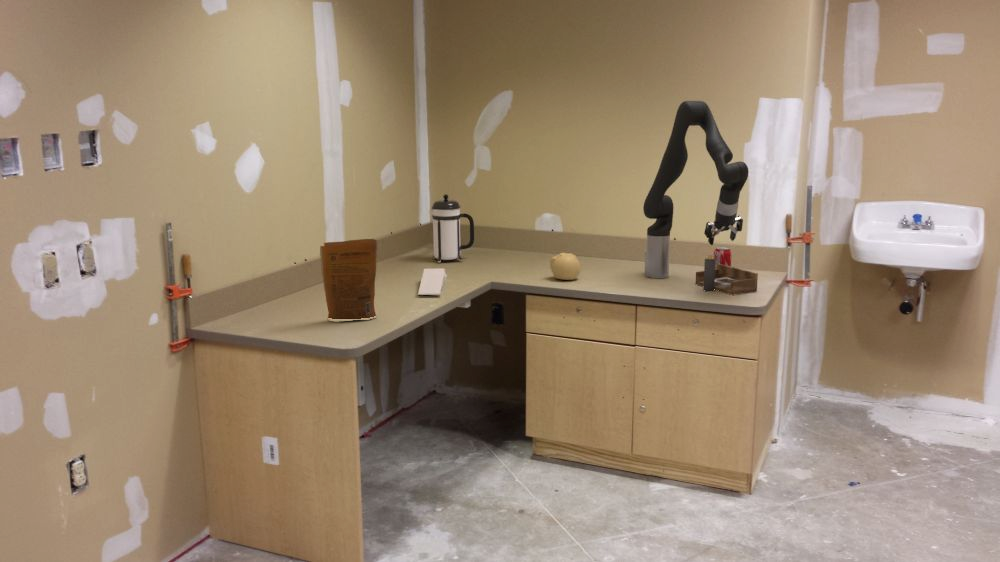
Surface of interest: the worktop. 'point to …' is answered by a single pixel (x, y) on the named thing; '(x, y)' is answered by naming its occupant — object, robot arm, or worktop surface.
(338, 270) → the pancake mix bag
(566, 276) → the tan round lump
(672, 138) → the robot arm
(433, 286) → the white boxy piece
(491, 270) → the worktop surface
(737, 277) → the bay
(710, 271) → the tall grey cylinder
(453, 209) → the coffee press
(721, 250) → the soda can
